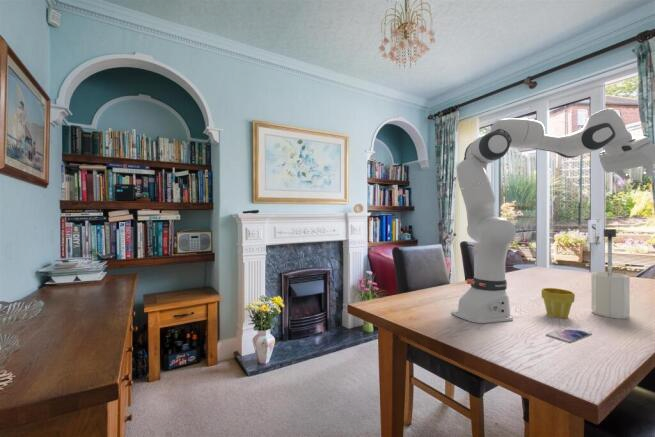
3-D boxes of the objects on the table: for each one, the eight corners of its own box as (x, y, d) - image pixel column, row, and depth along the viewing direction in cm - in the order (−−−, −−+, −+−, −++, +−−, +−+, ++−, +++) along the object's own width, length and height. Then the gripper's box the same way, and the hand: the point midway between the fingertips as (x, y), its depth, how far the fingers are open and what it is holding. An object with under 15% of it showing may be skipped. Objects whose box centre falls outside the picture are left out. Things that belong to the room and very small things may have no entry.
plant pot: (581, 320, 111) (580, 294, 111) (549, 319, 113) (549, 293, 113) (564, 312, 121) (564, 288, 121) (536, 310, 123) (536, 287, 123)
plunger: (617, 287, 113) (617, 229, 113) (592, 283, 120) (592, 229, 120) (627, 285, 116) (627, 229, 116) (602, 281, 123) (602, 228, 123)
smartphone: (593, 333, 98) (570, 342, 92) (593, 335, 98) (570, 344, 92) (568, 326, 105) (544, 333, 98) (568, 328, 105) (544, 336, 98)
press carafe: (620, 320, 111) (620, 277, 111) (586, 312, 121) (586, 273, 121) (637, 315, 117) (637, 274, 117) (604, 308, 126) (604, 270, 126)
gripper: (590, 156, 127) (607, 184, 126) (637, 144, 106) (657, 177, 106) (604, 149, 126) (621, 177, 126) (653, 135, 106) (673, 169, 106)
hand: (638, 177), depth 116 cm, fingers open, 8 cm apart
